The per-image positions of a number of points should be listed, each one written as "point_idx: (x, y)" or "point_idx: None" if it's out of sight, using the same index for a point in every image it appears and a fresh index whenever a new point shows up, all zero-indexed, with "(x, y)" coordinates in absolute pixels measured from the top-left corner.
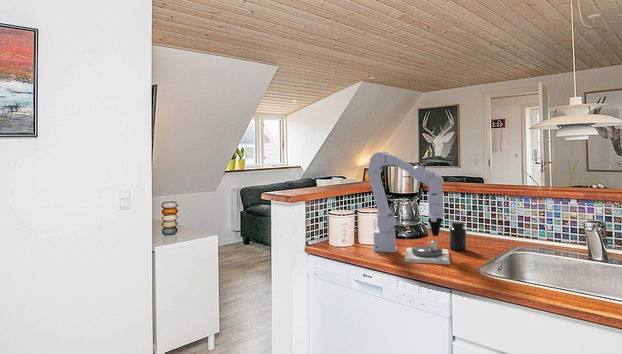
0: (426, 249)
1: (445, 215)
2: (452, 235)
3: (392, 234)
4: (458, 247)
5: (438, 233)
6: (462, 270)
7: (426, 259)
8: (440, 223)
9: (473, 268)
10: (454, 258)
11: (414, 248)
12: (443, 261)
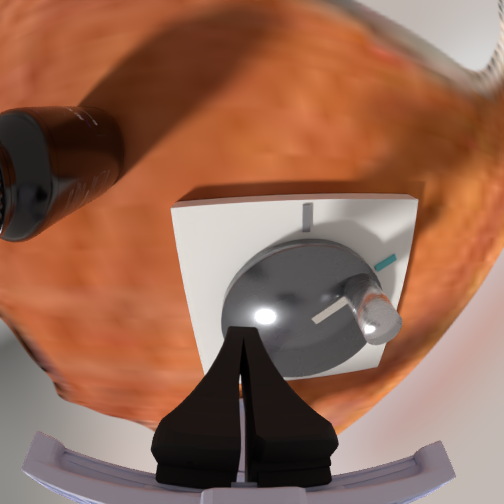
0: (306, 326)
1: (292, 501)
2: (67, 206)
3: (243, 462)
4: (116, 145)
5: (261, 340)
6: (469, 152)
7: (398, 300)
8: (319, 416)
9: (444, 99)
10: (299, 162)
11: (292, 370)
12: (410, 227)
